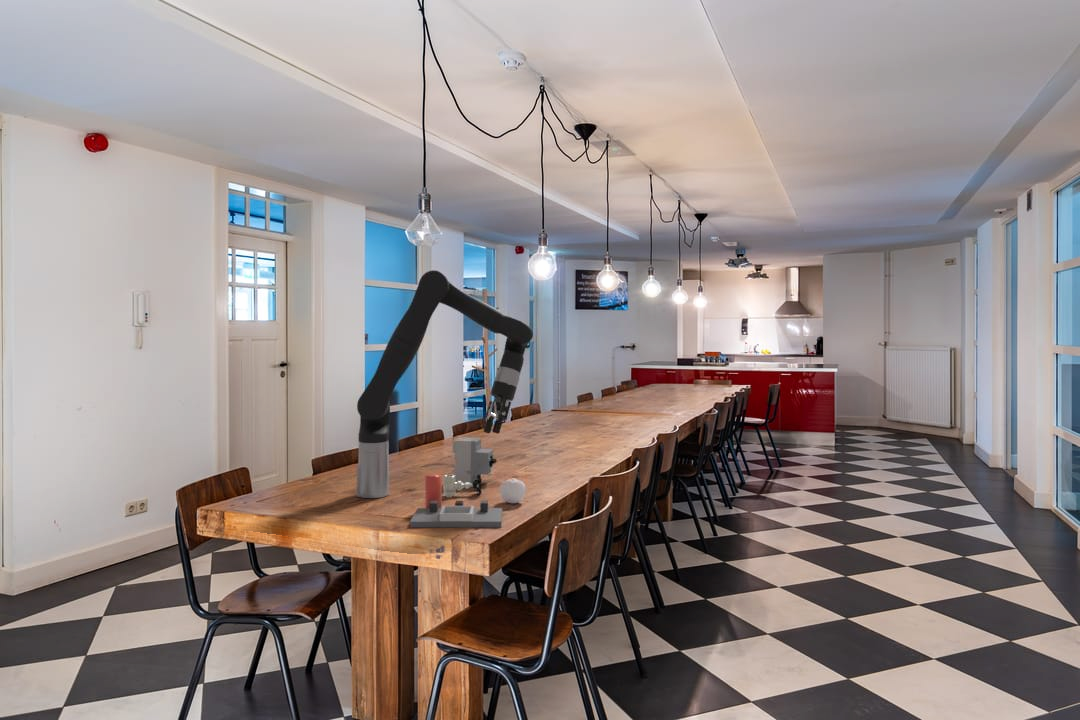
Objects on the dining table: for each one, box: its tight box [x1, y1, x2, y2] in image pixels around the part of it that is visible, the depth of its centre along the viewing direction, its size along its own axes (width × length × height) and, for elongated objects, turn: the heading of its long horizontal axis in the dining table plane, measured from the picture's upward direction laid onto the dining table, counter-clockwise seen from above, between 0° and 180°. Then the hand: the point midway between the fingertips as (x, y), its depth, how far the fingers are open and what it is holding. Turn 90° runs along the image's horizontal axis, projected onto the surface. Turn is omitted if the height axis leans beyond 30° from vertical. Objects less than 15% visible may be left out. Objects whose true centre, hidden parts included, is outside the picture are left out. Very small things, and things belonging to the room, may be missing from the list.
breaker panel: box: [409, 500, 503, 528], centre depth 182 cm, size 24×14×4 cm, turn 92°
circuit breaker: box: [451, 437, 498, 484], centre depth 230 cm, size 8×14×15 cm, turn 81°
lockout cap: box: [424, 473, 443, 508], centre depth 193 cm, size 5×5×10 cm
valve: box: [442, 474, 483, 498], centre depth 211 cm, size 7×7×12 cm
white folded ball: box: [499, 477, 527, 504], centre depth 202 cm, size 8×8×8 cm
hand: (490, 432), depth 207 cm, fingers open, 8 cm apart
